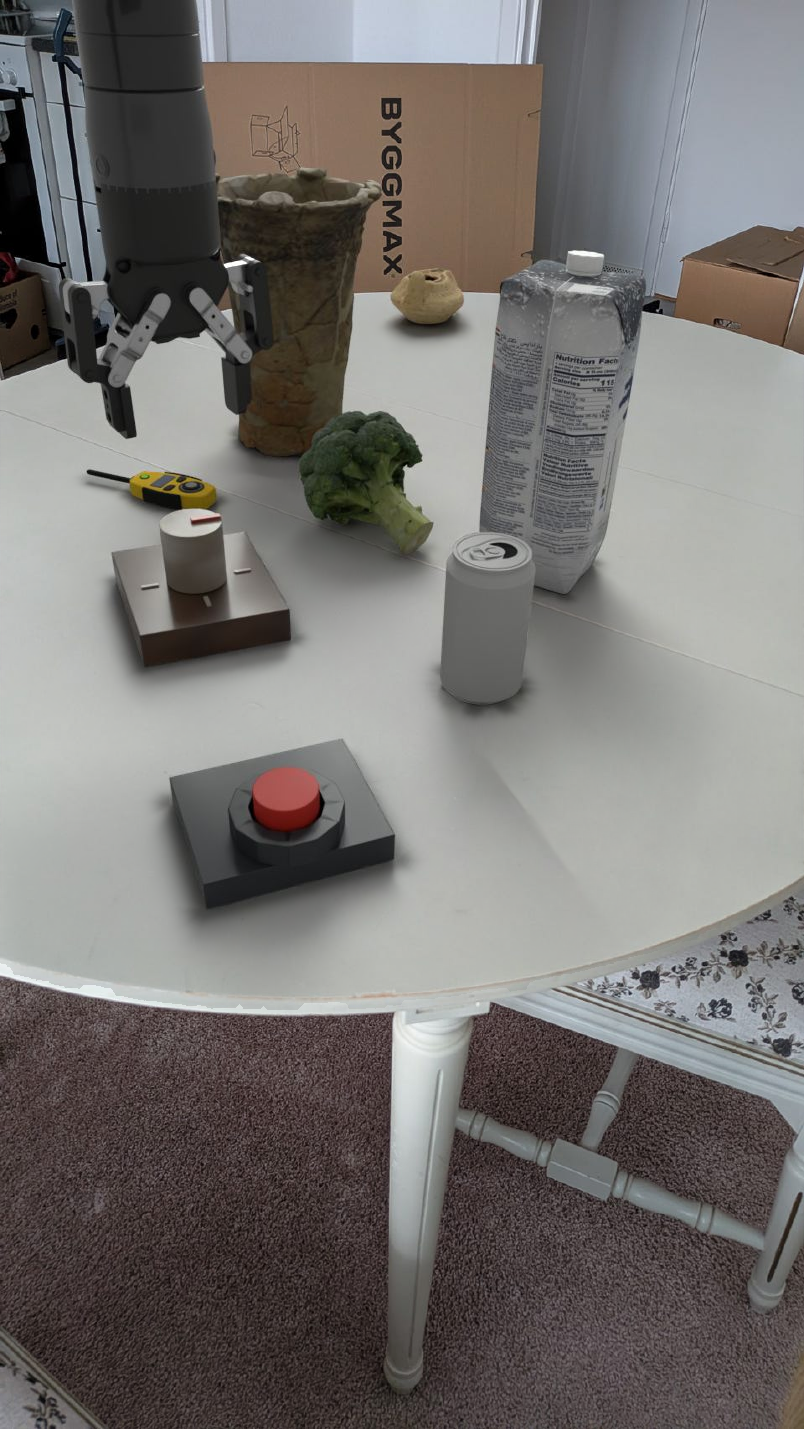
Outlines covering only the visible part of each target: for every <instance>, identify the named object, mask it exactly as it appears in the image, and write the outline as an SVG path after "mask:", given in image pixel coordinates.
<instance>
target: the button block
mask: <svg viewBox="0 0 804 1429" xmlns="http://www.w3.org/2000/svg"><path fill="white" fill-rule="evenodd" d="M280 767H295V768H299V769H303V770H305V771H307V772H309V773H310V774H312V775H313V776H314V777H315V778H316V780H317V782H318V784H319V802H320V810H319V814H318V816H317V817H316V819H315V820H314V821H313V822H312V823H311V824H310V825H308V826H307V827H305V828H302V829H298V830H294V831H290V832H282V831H274V830H270V829H268V828H266V827H264V826H263V825H261V824H260V823H259V822H258V820H257V819H256V817H255V814H254V806H253V794H252V789H253V785H254V783H255V781H256V780H257V779H258V778H259V777H260V776H261V775H262V774H264V773H265V772H267V771H269V770H272V769H276V768H280ZM168 780H169V787H170V792H171V800H172V805H173V807H174V810H175V813H176V817H177V820H178V824H179V826H180V830H181V833H182V835H183V839H184V843H185V846H186V850H187V852H188V855H189V858H190V861H191V865H192V868H193V871H194V874H195V878H196V881H197V885H198V887H199V890H200V894H201V896H202V900H203V903H204V906H205V909H206V910H211V909H214V908H215V909H216V908H219V907H221V906H226V905H229V904H233V903H237V902H240V901H243V900H248V899H253V898H256V897H259V896H263V895H267V894H270V893H274V892H278V891H283V890H285V889H289V888H293V887H297V886H299V885H303V884H307V883H308V884H309V883H311V882H315V881H319V880H323V879H326V878H330V877H334V876H338V875H341V874H345V873H349V872H353V871H355V870H359V869H364V868H367V867H371V866H374V865H378V864H382V863H386V862H389V861H393V860H395V846H396V834H395V832H394V830H393V828H392V827H391V824H390V823H389V821H388V819H387V817H386V815H385V814H384V812H383V809H382V808H381V807H380V805H379V802H378V801H377V799H376V797H375V795H374V793H373V791H372V790H371V788H370V786H369V784H368V782H367V781H366V779H365V776H364V775H363V773H362V771H361V770H360V767H359V766H358V764H357V762H356V760H355V758H354V757H353V755H352V753H351V750H350V749H349V747H348V745H347V744H346V742H345V740H344V738H338V739H334V740H328V741H325V742H320V743H316V744H311V745H307V746H303V747H298V748H294V749H289V750H285V751H279V752H275V753H271V754H267V755H263V756H258V757H254V758H249V759H245V760H240V761H236V762H232V763H231V762H230V763H226V764H222V765H219V766H214V767H209V768H204V769H201V770H195V771H192V772H187V773H182V774H179V775H173V776H170V777H168Z"/></svg>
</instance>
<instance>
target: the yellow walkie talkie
mask: <svg viewBox="0 0 804 1429" xmlns="http://www.w3.org/2000/svg"><path fill="white" fill-rule="evenodd" d="M86 474H87V475H89V476H93V477H97V478H102V479H106V480H112V481H115V482H119V483H124V484H129V490H130V491H129V492H130V494H131V495H132V496H134V497H136V498H139V499H141V500H143V502H145V503H148V504H151V505H154V506H156V507H157V506H158V507H161V508H166V509H172V510H183V509H204V510H208V509H209V508H210V507H212V506H213V505H214V504H215V503H216V501H217V488H216V486H215V485H213V484H211V483H208V482H206V481H203V479H201V478H199V477H195V476H192V475H187V474H184V473H177V472H171V471H164V472H161V471H150V470H144V471H141V472H138V473H137V474H136V475H134V476H131V477H127V476H122V475H117V474H114V473H108V472H104V471H100V470H95V469H91V468H89V469H87V470H86Z"/></svg>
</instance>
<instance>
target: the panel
mask: <svg viewBox="0 0 804 1429" xmlns="http://www.w3.org/2000/svg"><path fill="white" fill-rule="evenodd" d="M223 538H224V549H225V560H226V571H227V579H226V581H225V583H224V584H223V585H222V586H221V587H219V588H217V589H215V590H213V591H210V592H206V593H199V594H188V593H182V592H178V591H176V590H174V589H172V588H171V587H169V585H168V584H167V581H166V574H165V567H164V559H163V552H162V544H161V543H160V544H155V545H149V546H142V547H135V548H129V549H128V548H127V549H122V550H115V551H111V559H112V565H113V571H114V578H115V582H116V585H117V588H118V591H119V594H120V597H121V601H122V604H123V607H124V609H125V612H126V616H127V619H128V622H129V624H130V625H129V626H130V627H131V631H132V633H133V637H134V640H135V643H136V645H137V646H136V647H137V649H138V651H139V655H140V658H141V661H142V664H143V667H144V668H148V667H153V666H158V665H163V664H168V663H169V664H170V663H174V662H179V661H185V660H190V659H195V658H196V659H197V658H201V657H206V656H210V655H211V656H212V655H217V654H223V653H228V652H232V651H237V650H242V649H247V648H253V647H259V646H263V645H264V646H265V645H269V644H274V643H280V642H285V641H290V640H292V639H291V638H292V629H291V609H290V607H289V606H288V604H287V602H286V600H285V598H284V597H283V594H282V593H281V592H280V590H279V588H278V586H277V584H276V582H275V581H274V579H273V577H272V576H271V574H270V572H269V571H268V569H267V567H266V565H265V563H264V562H263V560H262V558H261V556H260V555H259V552H258V551H257V549H256V547H255V545H254V544H253V542H252V541H251V539H250V537H249V535H248V534H247V531H240V532H233V533H226V534H223Z"/></svg>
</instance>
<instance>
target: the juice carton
mask: <svg viewBox="0 0 804 1429" xmlns="http://www.w3.org/2000/svg"><path fill="white" fill-rule="evenodd" d="M604 260H605V255H604V254H603V253H598V252H596V251H587V250H570V251H569V250H568V251H567V255H566V262H565V263H566V264H565V263H562V262H558V261H554V260H549V259H541V260H538V261H536V262H535V263H534V264H532V265H529V266H528V267H526V268H524V269H522V270H520V271H519V272H517V273H515V274H513V275H511V276H508V277H506V278H505V279H503V280H502V281H501V282H500V285H499V304H498V309H497V314H496V315H497V316H496V324H495V330H494V340H493V353H492V362H491V376H490V386H489V387H490V389H489V399H488V401H489V402H488V411H487V424H486V436H485V447H484V448H485V450H484V459H483V460H484V462H483V470H482V471H483V473H482V485H481V496H480V499H481V500H480V510H479V524H478V525H479V527H478V533H479V532H497V533H504V534H508V535H511V536H514V537H517V538H519V539H521V540H523V541H524V542H525V543H527V544H528V545H529V547H530V548H531V550H532V558H531V559H532V561H533V562H534V565H535V578H534V586H535V587H538V588H541V589H543V590H548V591H551V592H554V593H558V594H561V595H562V594H563V595H567V594H569V592H570V591H571V590H572V588H574V586H576V583H577V582H578V581H579V579H580V578H581V577H582V576H583V575H584V574H585V573H586V572H587V571H588V570H589V569H590V568H591V566H592V565H593V563H594V562H595V560H596V558H597V556H598V554H599V552H600V550H601V547H602V545H603V543H604V540H605V538H606V534H607V530H608V526H609V525H608V524H609V522H610V513H611V509H612V504H613V503H612V502H613V498H614V493H615V492H614V491H615V487H616V480H617V474H618V470H619V463H620V457H621V451H622V445H623V441H624V440H623V439H624V433H625V428H626V423H627V418H628V417H627V416H628V410H629V403H630V398H631V393H632V386H633V381H634V376H635V375H634V374H635V368H636V363H637V356H638V351H639V346H640V339H641V338H640V337H641V332H642V331H641V330H642V321H643V320H642V319H643V309H644V308H643V307H644V302H645V298H646V290H647V282H646V279H645V277H644V276H643V275H640V274H636V273H630V272H629V273H628V272H612V271H611V272H610V271H609V272H608V271H603V268H604V267H603V266H604Z"/></svg>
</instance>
